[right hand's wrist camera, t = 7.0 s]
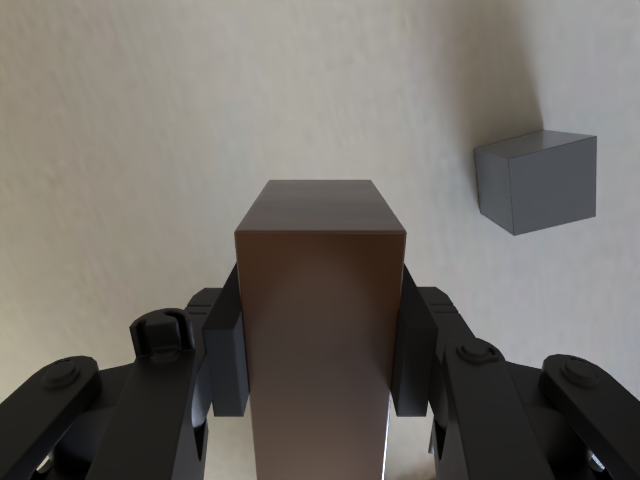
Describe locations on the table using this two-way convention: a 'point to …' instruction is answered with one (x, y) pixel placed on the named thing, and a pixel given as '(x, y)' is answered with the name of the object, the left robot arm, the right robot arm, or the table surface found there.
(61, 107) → the table surface
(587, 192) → the slate cube
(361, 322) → the walnut bar
